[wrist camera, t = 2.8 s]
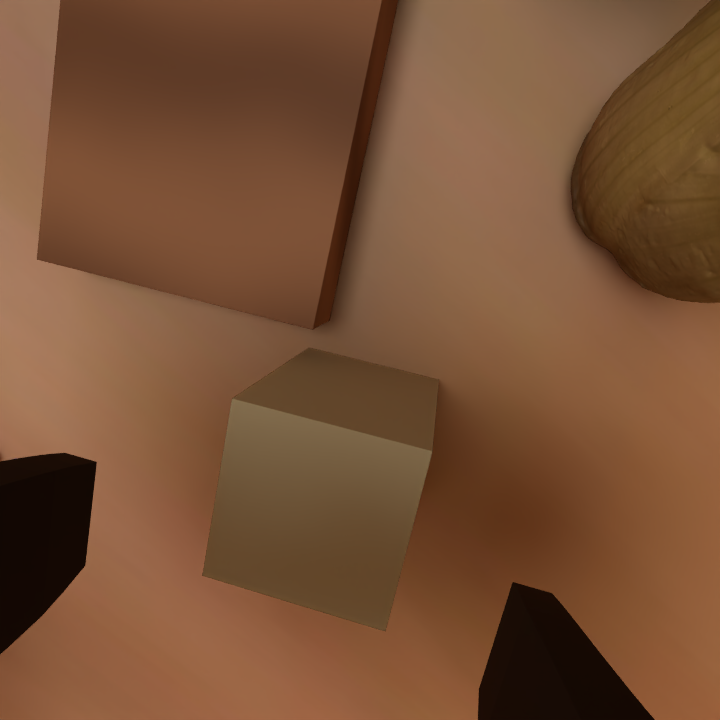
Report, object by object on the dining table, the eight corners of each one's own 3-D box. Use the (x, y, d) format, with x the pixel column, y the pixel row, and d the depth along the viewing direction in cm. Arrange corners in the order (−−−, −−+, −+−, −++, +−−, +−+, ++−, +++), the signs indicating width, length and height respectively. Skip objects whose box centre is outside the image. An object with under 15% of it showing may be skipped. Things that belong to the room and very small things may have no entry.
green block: (408, 501, 17) (385, 631, 11) (285, 467, 17) (202, 575, 12) (438, 379, 16) (432, 451, 10) (309, 347, 16) (232, 398, 11)
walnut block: (332, 318, 17) (312, 329, 14) (94, 258, 17) (36, 259, 15) (411, -47, 14) (404, -108, 12) (134, -95, 15) (75, -161, 13)
